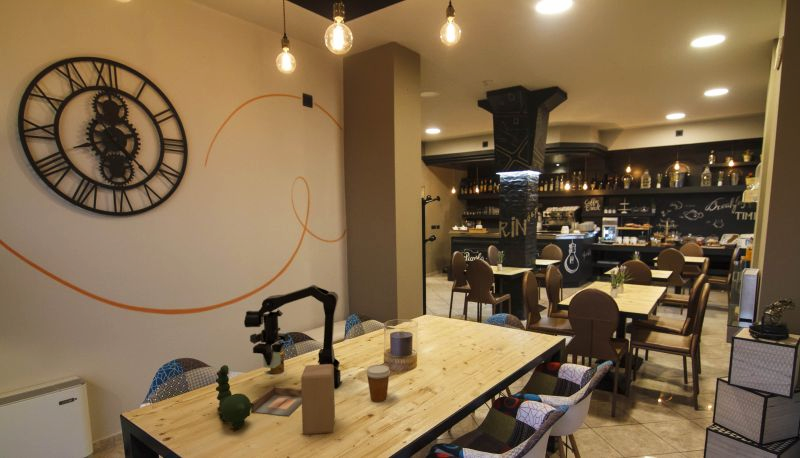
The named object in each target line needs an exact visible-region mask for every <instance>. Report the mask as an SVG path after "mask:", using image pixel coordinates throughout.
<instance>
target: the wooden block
mask: <svg viewBox="0 0 800 458" xmlns="http://www.w3.org/2000/svg"><path fill="white" fill-rule="evenodd" d="M300 384H301V385H300V388H301V393H302V404H301V419H302V420H301V421H302V424H301V425H302V426H301V427H302V433H303V434H304V435H309V434H310V435H314V434H327V433H328V434H329V433H332V432H333V431H334V426H335V420H336V419H335V418H336V412H335V411H336V406H335V389H334V366H333V365H332V364H323V365H319V364H309V365H305V366H304V370H303V371H302V374H301V376H300Z"/></svg>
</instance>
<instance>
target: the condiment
mask: <svg viewBox="0 0 800 458" xmlns="http://www.w3.org/2000/svg"><path fill="white" fill-rule="evenodd" d="M283 348H284V347H283ZM283 348H282V350H281V353H280V356H281V364H280V365H278V366H277V367H276V368H269V369H270V370H264V374H265V376H267V377H268V378H269V377H275V376H278V375H282V374H286V373H287V371H286V370H285V360H284V359H285V356H284V355H285V354H284V351H283V350H284V349H283ZM271 350H273V348H272V347H271Z"/></svg>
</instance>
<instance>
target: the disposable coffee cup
mask: <svg viewBox="0 0 800 458" xmlns="http://www.w3.org/2000/svg"><path fill="white" fill-rule="evenodd" d="M390 373H391V370H390V367H389V366H388V365H386V364H374V365H370V366H368V367H367V369H366V371H365V374H366V376H367V382H368V390H369V396H370V401H371V402H373V403H382V402H386V401H387V399H388V389H389V388H388V387H389V377H390Z"/></svg>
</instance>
